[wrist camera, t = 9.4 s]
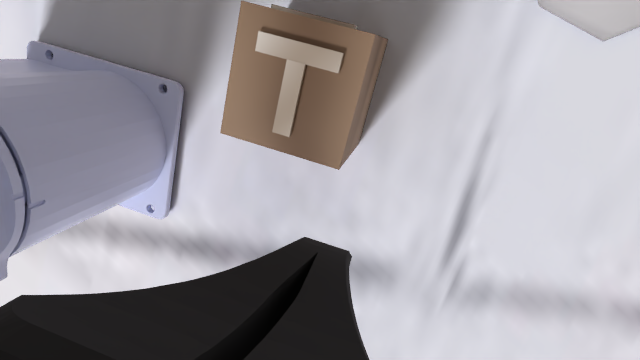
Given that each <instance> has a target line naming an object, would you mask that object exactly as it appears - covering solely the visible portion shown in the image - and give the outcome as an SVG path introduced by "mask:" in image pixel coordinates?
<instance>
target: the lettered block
mask: <svg viewBox="0 0 640 360" xmlns="http://www.w3.org/2000/svg"><path fill="white" fill-rule="evenodd" d="M387 41H388V39H385V38H383V37H380V36H378V35H375V34H371V33H368V32H364V31H360V30H357V26H356V25H353V24H349V23H345V22H341V21H337V20H333V19H329V18H325V17H321V16H317V15H313V14H309V13H305V12H301V11H297V10H293V9H289V8H285V7H281V6H277V5H273V4H272V5H271V8H269V7H265V6H261V5H257V4H253V3H249V2H245V1H241V7H240V13H239V19H238V25H237V32H236V38H235V44H234V51H233V57H232V63H231V70H230V76H229V82H228V88H227V95H226V101H225V107H224V114H223V120H222V126H221V132H220V133H222V134H225V135H229V136H232V137H235V138H238V139H242V140H245V141H248V142H251V143H254V144H258V145H261V146H264V147H267V148H271V149H274V150H277V151H280V152H284V153H287V154H290V155H293V156H296V157H300V158H303V159H306V160H309V161H313V162H316V163H319V164H322V165H326V166H329V167H332V168H335V169H338V170H339V169H340V168H341V166H342V165H343V164H344V162H345V161H346V160H347V158H348V157H349V156H350V155H351V153H352V152H353V151H354V149H355V148H356V147H357V145H358V144H359V141H360V137H361V134H362V130H363V127H364V123H365V120H366V116H367V112H368V109H369V105H370V102H371V98H372V95H373V91H374V88H375V84H376V80H377V77H378V73H379V70H380V66H381V63H382V59H383V56H384V52H385V48H386V45H387Z"/></svg>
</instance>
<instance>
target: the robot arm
mask: <svg viewBox="0 0 640 360" xmlns="http://www.w3.org/2000/svg"><path fill="white" fill-rule="evenodd" d="M51 53H53V58H52V55H51ZM164 84H165V85H166V86H167V93H166V92H164V90H163V85H164ZM183 95H184V89H183V87H182V85H181V84H180V83H179V82H177V81H174V80H170V79H167V78H163V77H160V76H157V75H153V74H150V73H146V72H143V71H139V70H136V69H133V68H129V67H126V66H122V65H119V64H115V63H112V62H109V61H105V60H102V59H98V58H95V57H91V56H88V55H85V54H81V53H78V52H74V51H71V50H68V49H64V48H61V47H57V46H54V45H50V44H47V43H44V42H40V41H31V42H29V43H28V45H27V59H0V281H1V280H3V279H5V278H6V277H7V261H8V258H9V257H10V256H12V255H15V254H17V253H19V252H21V251H23V250H25V249H27V248H29V247H31V246H33V245H35V244H37V243H39V242H41V241H43V240H46V239H48V238H50V237H52V236H54V235H56V234H58V233H60V232H62V231H64V230H66V229H68V228H70V227H72V226H74V225H77V224H79V223H81V222H83V221H85V220H87V219H89V218H91V217H93V216H95V215H97V214H99V213H101V212H103V211H105V210H108V209H110V208H112V207H114V206H116V205H120V206H123V207H125V208H128V209H131V210H134V211H137V212H140V213H142V214H145V215H148V216H151V217H154V218H157V219H163V218H165V217H167V216H168V214H169V210H170V202H171V194H172V186H173V177H174V169H175V161H176V153H177V144H178V136H179V128H180V120H181V112H182V103H183ZM151 205H152V206H153V207H154V210H152V208H151ZM351 258H352V256H351V254H350V252H349V251H347V250H344V249H340V248H337V247H334V246H331V245H328V244H325V243H322V242H319V241H316V240H313V239H310V238H307V237H304V238H301V239H299V240H297V241H295V242H293V243H291V244H289V245H286V246H284V247H282V248H280V249H278V250H276V251H274V252H272V253H269V254H267V255H265V256H263V257H260V258H258V259H255V260H253V261H250V262H248V263H245V264H242V265H240V266H237V267H234V268H232V269H229V270H226V271H223V272H220V273H216V274H213V275H210V276H206V277H202V278H198V279H194V280H190V281H186V282H180V283H175V284H169V285H164V286H158V287H153V288H147V289H139V290H131V291H122V292H110V293H98V294H75V295H21V296H19V297H17V298H15V299H14V300H12V301H10V302H8V303H7V304H5V305H3V306H1V307H0V360H369V358H368V355H367V353H366V350H365V347H364V344H363V342H362V339H361V336H360V333H359V329H358V326H357V322H356V318H355V314H354V309H353V304H352V299H351V291H350V283H349V265H350V261H351Z"/></svg>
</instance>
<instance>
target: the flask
mask: <svg viewBox="0 0 640 360" xmlns="http://www.w3.org/2000/svg"><path fill="white" fill-rule="evenodd" d="M538 3H539V6H540V7H541V8H543V9H545V10H547V11H549V12H550V13H552V14H554V15H556V16H558V17H560V18H561V19H563V20H565V21H567V22H569V23H570V24H572V25H574V26H576V27H578V28H580V29H581V30H583V31H585V32H587V33H589V34H590V35H592V36H594V37H596V38H598V39H600V40H601V41H606V40H608V39H611V38H613V37H616V36H618V35H621V34H623V33H626V32H628V31H631V30H633V29H635V28H638V27H640V0H538Z"/></svg>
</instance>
